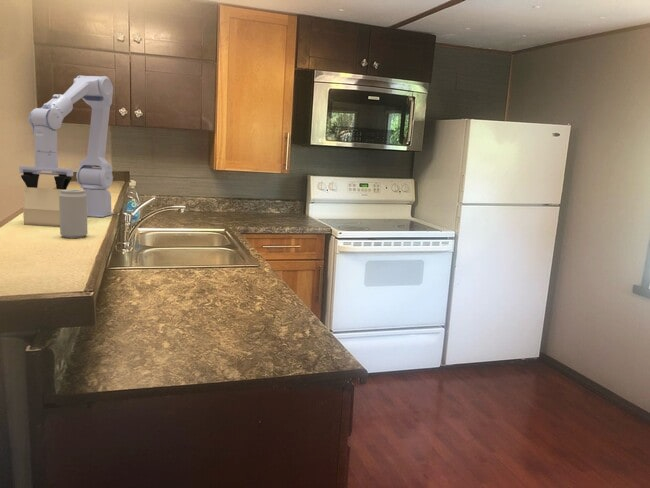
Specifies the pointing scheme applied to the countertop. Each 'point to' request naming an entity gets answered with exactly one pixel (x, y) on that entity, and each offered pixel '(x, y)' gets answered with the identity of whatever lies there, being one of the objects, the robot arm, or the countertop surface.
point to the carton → (41, 217)
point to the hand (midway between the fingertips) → (47, 200)
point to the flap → (41, 198)
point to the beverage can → (73, 213)
